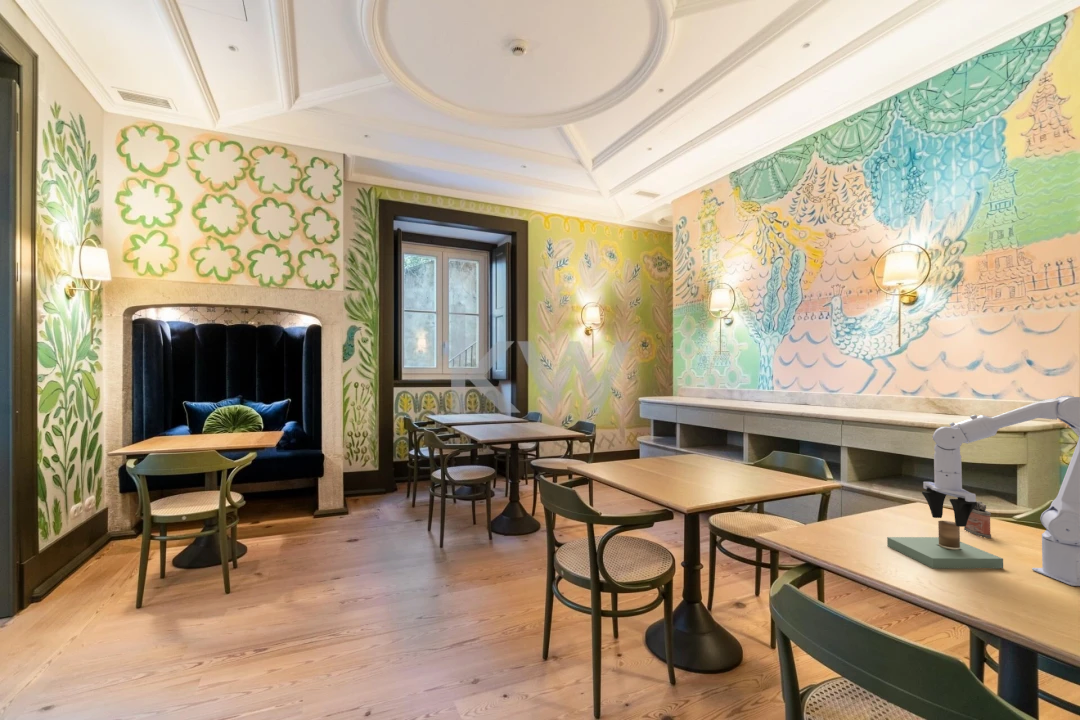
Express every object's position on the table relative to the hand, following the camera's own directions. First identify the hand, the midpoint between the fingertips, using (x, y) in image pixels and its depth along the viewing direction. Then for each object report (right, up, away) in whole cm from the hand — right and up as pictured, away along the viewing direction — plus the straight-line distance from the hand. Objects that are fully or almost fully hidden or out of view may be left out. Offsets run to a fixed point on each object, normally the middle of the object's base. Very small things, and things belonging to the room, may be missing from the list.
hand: (948, 521), depth 132 cm
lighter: (+25, -10, +19) cm, 33 cm away
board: (-2, -9, 0) cm, 10 cm away
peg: (0, -9, 0) cm, 9 cm away
